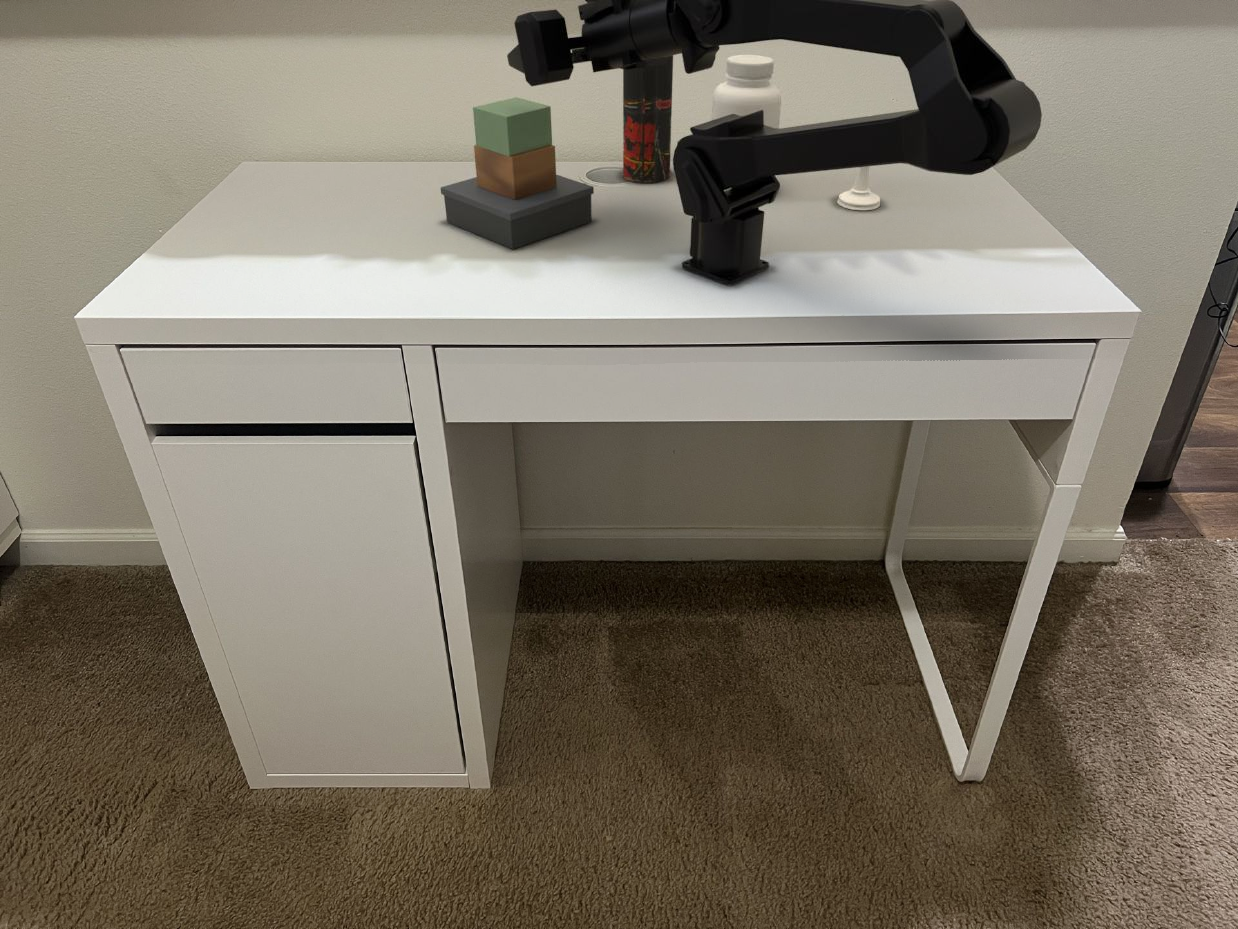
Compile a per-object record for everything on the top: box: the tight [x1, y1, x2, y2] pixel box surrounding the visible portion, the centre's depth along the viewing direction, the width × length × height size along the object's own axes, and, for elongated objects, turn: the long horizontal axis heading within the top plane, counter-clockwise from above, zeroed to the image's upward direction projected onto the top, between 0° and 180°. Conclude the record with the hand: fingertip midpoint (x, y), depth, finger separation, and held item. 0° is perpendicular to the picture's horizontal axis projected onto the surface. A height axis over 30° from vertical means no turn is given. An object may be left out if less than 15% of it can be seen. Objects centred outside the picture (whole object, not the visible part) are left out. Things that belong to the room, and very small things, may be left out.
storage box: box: [440, 174, 595, 250], centre depth 103 cm, size 12×12×4 cm
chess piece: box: [837, 114, 881, 211], centre depth 106 cm, size 5×5×10 cm
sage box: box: [472, 97, 553, 157], centre depth 98 cm, size 6×6×4 cm
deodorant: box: [622, 55, 674, 184], centre depth 113 cm, size 6×6×15 cm
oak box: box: [473, 144, 557, 200], centre depth 100 cm, size 6×6×4 cm
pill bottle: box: [710, 54, 782, 191], centre depth 108 cm, size 8×8×15 cm
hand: (542, 55), depth 97 cm, fingers open, 9 cm apart
